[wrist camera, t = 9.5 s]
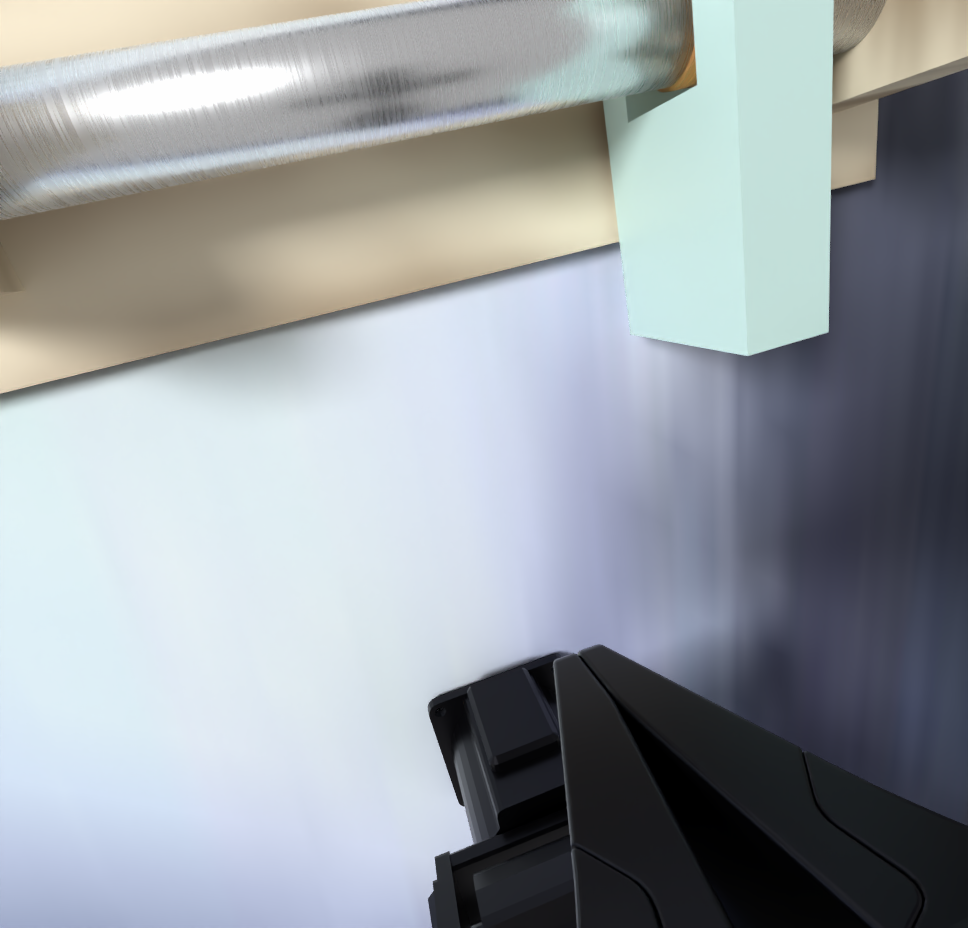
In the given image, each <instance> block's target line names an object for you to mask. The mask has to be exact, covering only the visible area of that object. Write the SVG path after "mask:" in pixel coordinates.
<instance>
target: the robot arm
mask: <svg viewBox="0 0 968 928" xmlns="http://www.w3.org/2000/svg"><path fill="white" fill-rule="evenodd" d="M552 667H553V668H552ZM438 708H443V709H442V710H439V711H437V709H438ZM428 712H429V717H430V720H431V723H432V725H433V728H434V731H435V734H436V737H437V740H438V743H439V746H440V749H441V752H442V755H443V758H444V761H445V764H446V767H447V770H448V773H449V776H450V778H451V781H452V784H453V787H454V790H455V793H456V796H457V799H458V802H459V804H460V805H462V806H465V809H466V814H467V818H468V822H469V826H470V830H471V834H472V838H473V843H474V845H471V846H469V847H466V848H464V849H461V850H459V851H456V852H454V853H451V854H450V852H446V853H444V854H441V855H439V856H436V857H435V864H436V873H437V880H435V881H433V889H434V891H433V893H432V894H431V895H430V897H429V898H428V902H429V909H430V916H431V922H432V928H968V826H966V825H964V824H962V823H959V822H957V821H955V820H952V819H950V818H947V817H945V816H943V815H940V814H938V813H936V812H933V811H931V810H929V809H927V808H924V807H922V806H920V805H918V804H915V803H913V802H911V801H909V800H906V799H904V798H902V797H900V796H898V795H895V794H893V793H891V792H889V791H886V790H884V789H882V788H880V787H878V786H875V785H873V784H871V783H869V782H867V781H865V780H863V779H861V778H859V777H857V776H855V775H853V774H851V773H849V772H847V771H845V770H843V769H841V768H839V767H837V766H835V765H833V764H831V763H829V762H827V761H825V760H823V759H821V758H819V757H818V756H816V755H814V754H812V753H810V752H808V751H804V752H803V753H802V750H801V748H800V747H798V746H796V745H794V744H792V743H790V742H788V741H786V740H784V739H782V738H781V737H779V736H777V735H775V734H773V733H771V732H769V731H767V730H765V729H763V728H761V727H759V726H757V725H755V724H754V723H752V722H750V721H748V720H746V719H744V718H742V717H740V716H738V715H736V714H734V713H732V712H730V711H729V710H727V709H725V708H723V707H721V706H719V705H717V704H715V703H713V702H711V701H709V700H707V699H705V698H703V697H702V696H700V695H698V694H696V693H694V692H692V691H690V690H688V689H686V688H684V687H682V686H680V685H678V684H677V683H675V682H673V681H671V680H669V679H667V678H665V677H663V676H661V675H659V674H657V673H655V672H653V671H651V670H650V669H648V668H646V667H644V666H642V665H640V664H638V663H636V662H634V661H632V660H630V659H628V658H626V657H625V656H623V655H621V654H619V653H617V652H615V651H613V650H611V649H609V648H607V647H605V646H603V645H594V646H592V647H589V648H586V649H583V650H581V651H579V652H578V654H574V653H572V654H569V655H566V656H564V657H561V656H560V655H557V654H553V655H550V656H547V657H544V658H542V659H539V660H536V661H533V662H531V663H528V664H525V665H523V666H520V667H517V668H515V669H512V670H509V671H506V672H504V673H501V674H498V675H496V676H493V677H490V678H487V679H485V680H482V681H479V682H477V683H474V684H471V685H469V686H466V687H463V688H460V689H458V690H455V691H452V692H450V693H447V694H444V695H441V696H439V697H436V698H434V699H432V700H431V701H430V703H429V705H428Z"/></svg>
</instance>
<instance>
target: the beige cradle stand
mask: <svg viewBox="0 0 968 928" xmlns="http://www.w3.org/2000/svg"><path fill="white" fill-rule="evenodd" d="M413 1H419V0H0V67H1V66H8V65H14V64H20V63H27V62H33V61H39V60H46V59H52V58H58V57H65V56H71V55H77V54H84V53H90V52H96V51H103V50H109V49H115V48H122V47H128V46H134V45H141V44H147V43H153V42H160V41H166V40H172V39H179V38H185V37H191V36H198V35H204V34H210V33H217V32H223V31H229V30H236V29H242V28H248V27H255V26H261V25H267V24H274V23H280V22H286V21H293V20H299V19H305V18H312V17H318V16H324V15H331V14H337V13H343V12H350V11H356V10H362V9H369V8H375V7H381V6H388V5H394V4H400V3H407V2H413ZM965 69H968V0H886V2H885V5H884V7H883V10H882V12H881V14H880V16H879V18H878V20H877V22H876V23H875V25H874V26H873V28H872V29H871V30H870V32H869V33H868V34H867V36H866V37H865V38H864V39H863V40H862V41H861V42H860V43H859V44H857V45H856V46H855V47H853V48H852V49H850V50H848V51H846V52H843V53H839V54H834V55H833V77H832V142H831V190H832V189H836V188H840V187H844V186H849V185H853V184H857V183H861V182H865V181H869V180H873V179H875V173H876V149H877V126H878V102H879V98H882V97H885V96H888V95H891V94H894V93H897V92H900V91H903V90H906V89H909V88H912V87H915V86H918V85H921V84H924V83H927V82H930V81H933V80H936V79H939V78H941V77H944V76H947V75H950V74H953V73H956V72H959V71H962V70H965ZM616 242H619V234H618V225H617V217H616V208H615V200H614V191H613V183H612V174H611V166H610V157H609V149H608V140H607V132H606V123H605V115H604V106H603V101H598V102H593V103H588V104H583V105H578V106H573V107H568V108H563V109H558V110H553V111H548V112H543V113H538V114H533V115H528V116H523V117H518V118H513V119H508V120H503V121H498V122H493V123H488V124H483V125H478V126H473V127H467V128H462V129H457V130H452V131H447V132H442V133H437V134H432V135H427V136H422V137H417V138H412V139H407V140H402V141H397V142H392V143H387V144H382V145H377V146H372V147H367V148H362V149H357V150H352V151H347V152H342V153H337V154H332V155H327V156H322V157H317V158H312V159H307V160H302V161H297V162H292V163H287V164H282V165H277V166H272V167H266V168H261V169H256V170H251V171H246V172H241V173H236V174H231V175H226V176H221V177H216V178H211V179H206V180H201V181H196V182H191V183H186V184H181V185H176V186H171V187H166V188H161V189H156V190H151V191H146V192H141V193H136V194H131V195H126V196H121V197H116V198H111V199H106V200H101V201H96V202H91V203H86V204H81V205H76V206H70V207H65V208H60V209H55V210H50V211H45V212H40V213H35V214H30V215H25V216H20V217H15V218H10V219H5V220H0V394H1V393H5V392H9V391H13V390H17V389H21V388H25V387H29V386H33V385H37V384H41V383H45V382H49V381H54V380H58V379H62V378H66V377H70V376H74V375H78V374H82V373H86V372H90V371H94V370H98V369H102V368H107V367H111V366H115V365H119V364H123V363H127V362H131V361H135V360H139V359H143V358H147V357H151V356H155V355H160V354H164V353H168V352H172V351H176V350H180V349H184V348H188V347H192V346H196V345H200V344H204V343H208V342H213V341H217V340H221V339H225V338H229V337H233V336H237V335H241V334H245V333H249V332H253V331H257V330H261V329H266V328H270V327H274V326H278V325H282V324H286V323H290V322H294V321H298V320H302V319H306V318H310V317H314V316H319V315H323V314H327V313H331V312H335V311H339V310H343V309H347V308H351V307H355V306H359V305H363V304H367V303H372V302H376V301H380V300H384V299H388V298H392V297H396V296H400V295H404V294H408V293H412V292H416V291H420V290H425V289H429V288H433V287H437V286H441V285H445V284H449V283H453V282H457V281H461V280H465V279H469V278H473V277H478V276H482V275H486V274H490V273H494V272H498V271H502V270H506V269H510V268H514V267H518V266H522V265H526V264H531V263H535V262H539V261H543V260H547V259H551V258H555V257H559V256H563V255H567V254H571V253H575V252H579V251H584V250H588V249H592V248H596V247H600V246H604V245H608V244H612V243H616Z"/></svg>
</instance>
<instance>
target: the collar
mask: <svg viewBox="0 0 968 928" xmlns="http://www.w3.org/2000/svg"><path fill="white" fill-rule="evenodd" d="M692 11H693V27H694V43H695V59H696V75H697V86H695V87H690V88H685V89H680V90H675V91H670V92H660V91H657V90H653V91H648V92H643V93H638V94H633V95H628V96H623V97H618V98H613V99H608V100H603V106H604V115H605V123H606V132H607V140H608V149H609V157H610V166H611V174H612V183H613V191H614V200H615V208H616V217H617V225H618V234H619V242H620V251H621V259H622V268H623V276H624V285H625V293H626V302H627V310H628V319H629V327H630V335H636V336H641V337H646V338H652V339H657V340H663V341H668V342H674V343H679V344H685V345H690V346H696V347H701V348H707V349H712V350H717V351H723V352H728V353H734V354H739V355H745V356H750V355H753V354H756V353H760V352H763V351H767V350H770V349H773V348H777V347H780V346H784V345H787V344H790V343H794V342H797V341H801V340H804V339H807V338H811V337H814V336H818V335H821V334H824V333H828V332H829V273H830V207H831V142H832V77H833V12H834V0H692Z"/></svg>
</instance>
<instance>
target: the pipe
mask: <svg viewBox="0 0 968 928" xmlns="http://www.w3.org/2000/svg"><path fill="white" fill-rule="evenodd" d="M885 2H886V0H834V12H833V55H834V54H839V53H843V52H846V51H848V50H850V49H852V48H853V47H855V46H856V45H857V44H859V43H860V42H861V41H862V40H863V39H864V38H865V37H866V36H867V34H868V33H869V32H870V30H871V29H872V28H873V26H874V25H875V23H876V22H877V20H878V18H879V16H880V14H881V12H882V10H883V7H884V5H885ZM695 86H697V75H696V59H695V43H694V27H693V11H692V0H419V1H413V2H407V3H400V4H394V5H388V6H381V7H375V8H369V9H362V10H356V11H350V12H343V13H337V14H331V15H324V16H318V17H312V18H305V19H299V20H293V21H286V22H280V23H274V24H267V25H261V26H255V27H248V28H242V29H236V30H229V31H223V32H217V33H210V34H204V35H198V36H191V37H185V38H179V39H172V40H166V41H160V42H153V43H147V44H141V45H134V46H128V47H122V48H115V49H109V50H103V51H96V52H90V53H84V54H77V55H71V56H65V57H58V58H52V59H46V60H39V61H33V62H27V63H20V64H14V65H8V66H1V67H0V220H5V219H10V218H15V217H20V216H25V215H30V214H35V213H40V212H45V211H50V210H55V209H60V208H65V207H70V206H76V205H81V204H86V203H91V202H96V201H101V200H106V199H111V198H116V197H121V196H126V195H131V194H136V193H141V192H146V191H151V190H156V189H161V188H166V187H171V186H176V185H181V184H186V183H191V182H196V181H201V180H206V179H211V178H216V177H221V176H226V175H231V174H236V173H241V172H246V171H251V170H256V169H261V168H266V167H272V166H277V165H282V164H287V163H292V162H297V161H302V160H307V159H312V158H317V157H322V156H327V155H332V154H337V153H342V152H347V151H352V150H357V149H362V148H367V147H372V146H377V145H382V144H387V143H392V142H397V141H402V140H407V139H412V138H417V137H422V136H427V135H432V134H437V133H442V132H447V131H452V130H457V129H462V128H467V127H473V126H478V125H483V124H488V123H493V122H498V121H503V120H508V119H513V118H518V117H523V116H528V115H533V114H538V113H543V112H548V111H553V110H558V109H563V108H568V107H573V106H578V105H583V104H588V103H593V102H598V101H603V100H608V99H613V98H618V97H623V96H628V95H633V94H638V93H643V92H648V91H653V90H657V91H660V92H670V91H675V90H680V89H685V88H690V87H695Z"/></svg>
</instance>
